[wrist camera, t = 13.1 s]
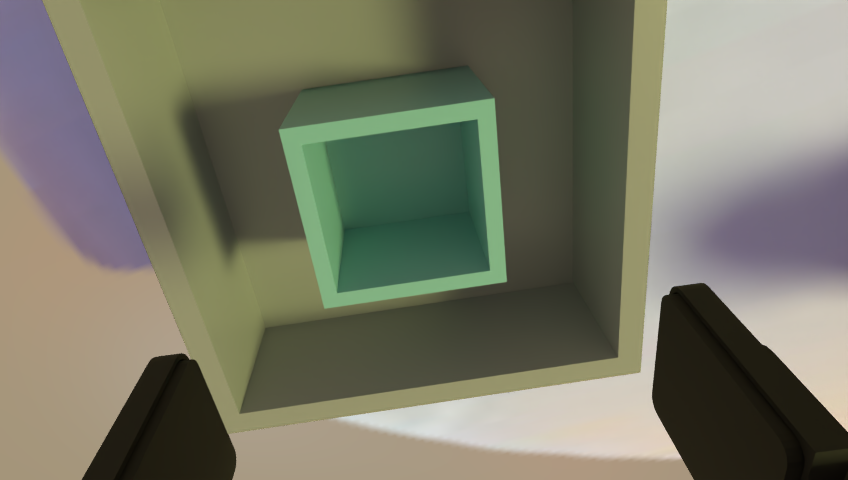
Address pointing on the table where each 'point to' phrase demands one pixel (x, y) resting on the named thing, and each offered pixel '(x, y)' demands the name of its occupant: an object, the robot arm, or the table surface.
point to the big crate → (281, 221)
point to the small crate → (398, 185)
